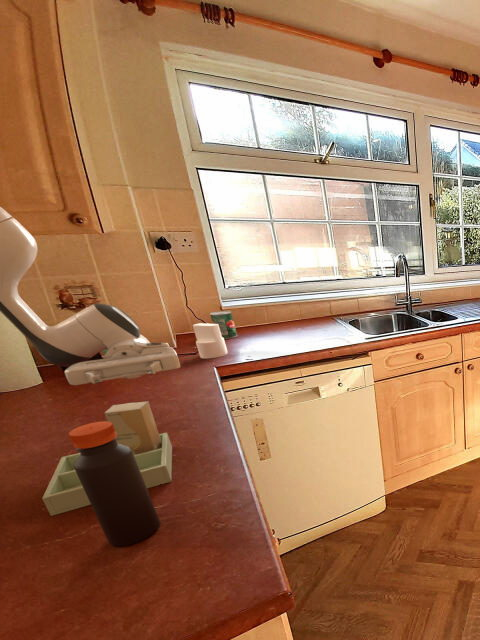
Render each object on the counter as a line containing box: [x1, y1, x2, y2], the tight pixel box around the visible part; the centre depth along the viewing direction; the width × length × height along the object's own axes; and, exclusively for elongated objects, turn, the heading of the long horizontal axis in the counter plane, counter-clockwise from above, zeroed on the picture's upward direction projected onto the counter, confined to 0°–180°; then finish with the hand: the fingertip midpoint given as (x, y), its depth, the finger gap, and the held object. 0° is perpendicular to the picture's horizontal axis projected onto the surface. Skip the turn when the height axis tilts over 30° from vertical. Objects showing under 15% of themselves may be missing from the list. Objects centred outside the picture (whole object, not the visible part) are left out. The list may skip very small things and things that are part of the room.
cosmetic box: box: [104, 400, 162, 455], centre depth 90 cm, size 6×4×12 cm
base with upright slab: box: [192, 322, 229, 360], centre depth 162 cm, size 9×9×12 cm
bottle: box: [68, 420, 161, 547], centre depth 68 cm, size 7×7×20 cm
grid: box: [41, 432, 173, 517], centre depth 86 cm, size 17×17×4 cm
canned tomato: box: [209, 310, 238, 340], centre depth 186 cm, size 8×8×11 cm
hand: (123, 375), depth 95 cm, fingers open, 8 cm apart
